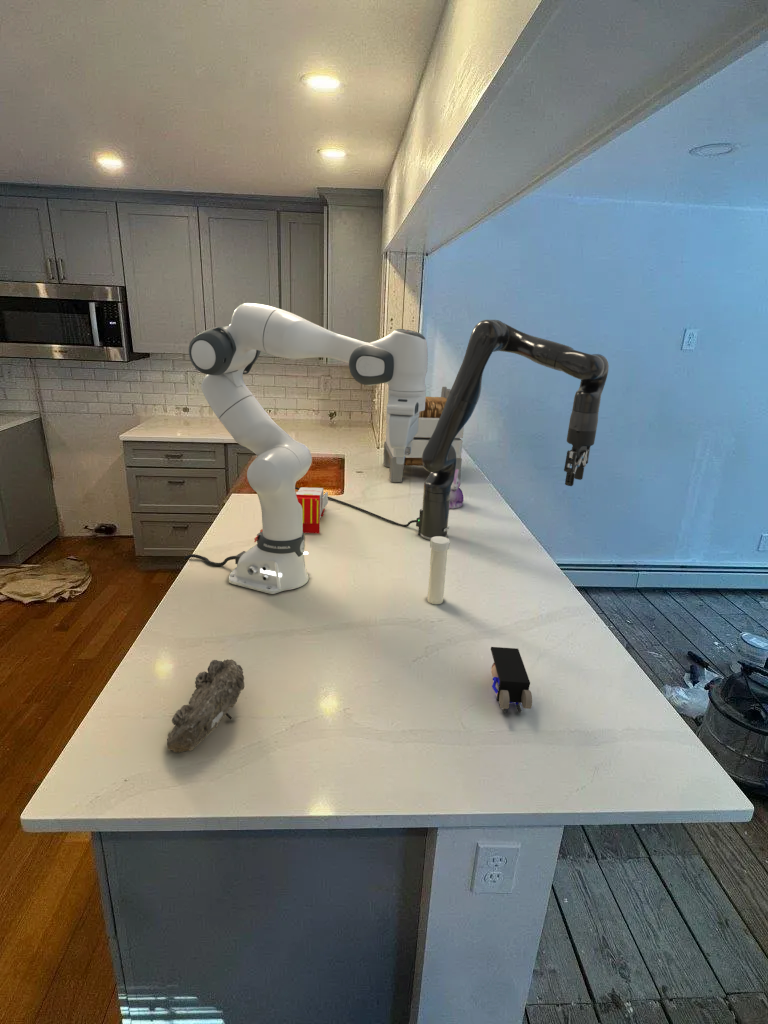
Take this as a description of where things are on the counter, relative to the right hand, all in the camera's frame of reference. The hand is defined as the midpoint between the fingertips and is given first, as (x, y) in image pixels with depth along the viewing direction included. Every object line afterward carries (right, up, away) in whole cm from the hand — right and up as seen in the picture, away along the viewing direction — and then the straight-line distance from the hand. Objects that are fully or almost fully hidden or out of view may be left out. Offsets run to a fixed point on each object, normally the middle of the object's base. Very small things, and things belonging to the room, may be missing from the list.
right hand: (573, 482), depth 165 cm
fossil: (-88, -48, -57) cm, 115 cm away
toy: (-83, -12, +44) cm, 94 cm away
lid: (-41, -16, -16) cm, 47 cm away
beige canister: (-41, -33, -10) cm, 54 cm away
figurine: (-27, -6, +66) cm, 72 cm away
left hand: (-51, +4, -27) cm, 57 cm away
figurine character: (-30, -47, -48) cm, 73 cm away
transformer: (-38, +10, +110) cm, 116 cm away
